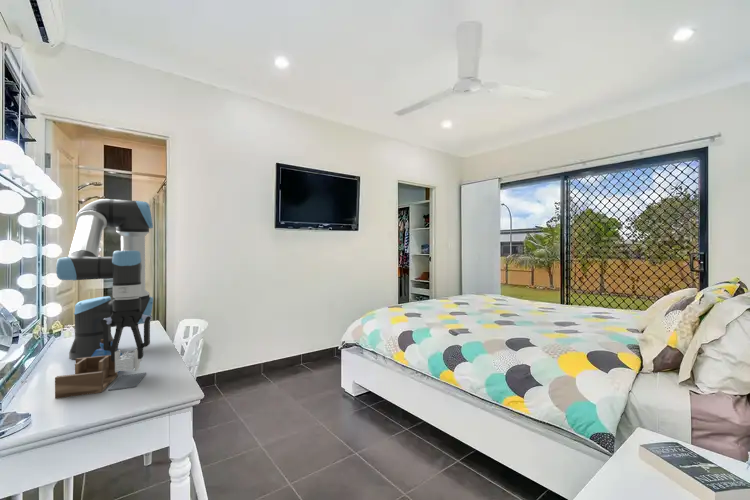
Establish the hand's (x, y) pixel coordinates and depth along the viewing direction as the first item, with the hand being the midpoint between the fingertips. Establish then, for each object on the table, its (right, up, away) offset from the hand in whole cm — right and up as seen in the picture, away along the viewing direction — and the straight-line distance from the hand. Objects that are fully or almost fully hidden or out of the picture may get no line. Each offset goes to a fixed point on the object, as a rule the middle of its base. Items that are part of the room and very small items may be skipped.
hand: (127, 369), depth 111 cm
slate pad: (0, -4, +1) cm, 4 cm away
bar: (-1, +1, +2) cm, 2 cm away
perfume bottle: (-14, -5, +9) cm, 17 cm away
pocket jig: (-10, -4, -3) cm, 11 cm away
